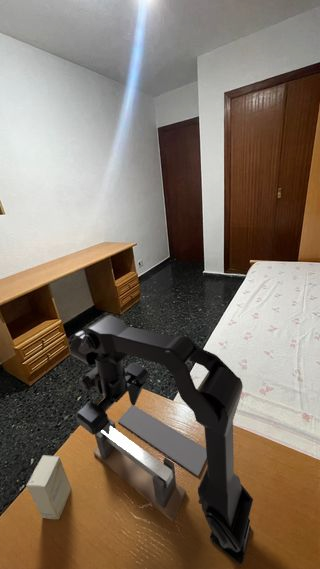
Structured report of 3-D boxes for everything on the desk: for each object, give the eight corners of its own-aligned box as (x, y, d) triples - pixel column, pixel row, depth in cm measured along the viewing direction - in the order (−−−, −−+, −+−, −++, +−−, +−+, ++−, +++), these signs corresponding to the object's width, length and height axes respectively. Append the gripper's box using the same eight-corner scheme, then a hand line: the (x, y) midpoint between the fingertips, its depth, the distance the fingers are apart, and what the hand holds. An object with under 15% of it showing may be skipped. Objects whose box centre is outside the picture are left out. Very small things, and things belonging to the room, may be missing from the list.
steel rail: (172, 477, 51) (172, 470, 50) (167, 487, 49) (166, 481, 48) (105, 427, 63) (104, 421, 62) (99, 434, 61) (97, 428, 60)
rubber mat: (209, 451, 62) (209, 450, 62) (198, 477, 57) (198, 475, 56) (132, 405, 77) (132, 404, 77) (117, 422, 72) (117, 420, 72)
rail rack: (185, 493, 54) (184, 467, 50) (172, 521, 49) (169, 495, 46) (109, 435, 68) (104, 412, 65) (94, 453, 64) (87, 430, 60)
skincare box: (59, 520, 51) (44, 488, 47) (41, 518, 52) (24, 486, 47) (72, 486, 57) (60, 455, 52) (55, 485, 58) (42, 454, 53)
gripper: (115, 337, 63) (123, 380, 69) (53, 383, 49) (69, 432, 55) (147, 350, 57) (152, 396, 62) (86, 406, 43) (101, 459, 49)
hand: (121, 418), depth 57 cm, fingers open, 9 cm apart
